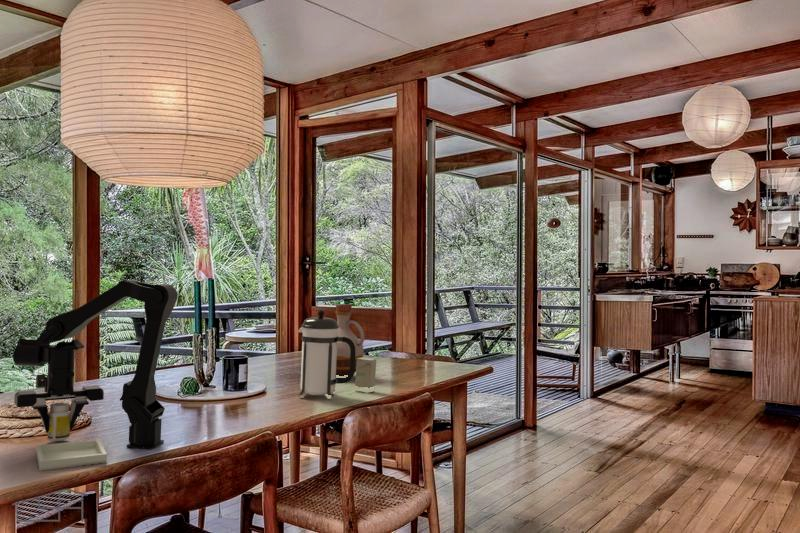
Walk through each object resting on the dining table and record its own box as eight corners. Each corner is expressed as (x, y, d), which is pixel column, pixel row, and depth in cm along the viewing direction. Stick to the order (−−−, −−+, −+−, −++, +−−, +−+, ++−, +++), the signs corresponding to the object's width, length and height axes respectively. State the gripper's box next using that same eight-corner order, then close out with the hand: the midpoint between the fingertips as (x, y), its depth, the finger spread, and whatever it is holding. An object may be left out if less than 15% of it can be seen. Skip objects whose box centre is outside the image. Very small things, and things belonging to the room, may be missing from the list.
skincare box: (354, 391, 233) (355, 358, 233) (360, 389, 237) (361, 357, 237) (369, 393, 230) (371, 360, 230) (375, 391, 234) (376, 358, 234)
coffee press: (312, 403, 210) (315, 312, 210) (287, 394, 223) (291, 308, 223) (355, 398, 221) (358, 311, 221) (329, 390, 234) (333, 308, 234)
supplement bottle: (73, 436, 158) (74, 402, 158) (63, 441, 153) (65, 406, 153) (53, 435, 158) (54, 401, 158) (43, 441, 153) (44, 406, 153)
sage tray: (98, 447, 152) (99, 439, 152) (106, 463, 141) (106, 454, 141) (36, 454, 145) (36, 445, 145) (39, 470, 134) (39, 461, 134)
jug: (374, 378, 262) (377, 305, 262) (348, 384, 247) (351, 306, 247) (336, 372, 273) (339, 302, 273) (309, 377, 257) (312, 303, 257)
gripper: (95, 360, 168) (92, 419, 168) (12, 364, 156) (10, 428, 156) (105, 366, 159) (102, 429, 159) (18, 371, 148) (16, 439, 148)
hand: (58, 431), depth 156 cm, fingers closed on supplement bottle, 5 cm apart
